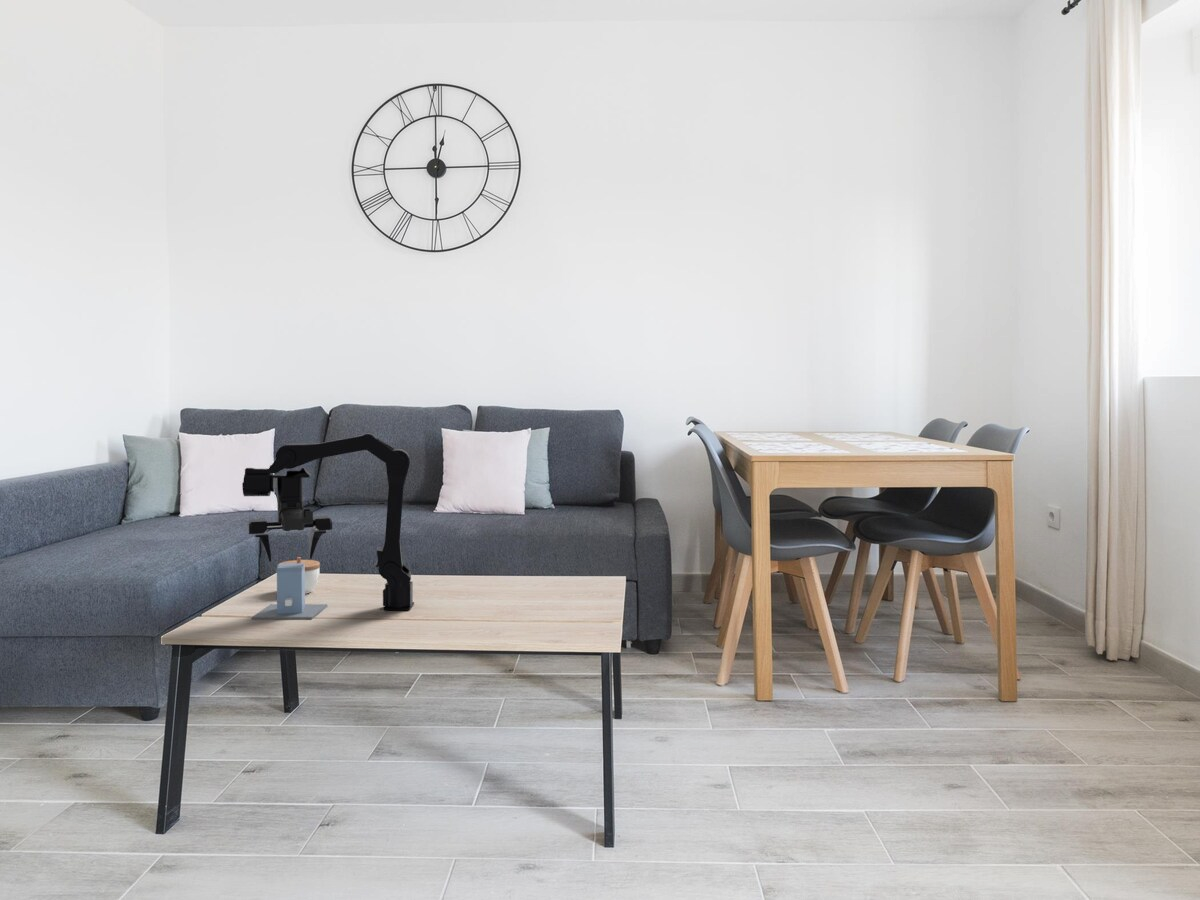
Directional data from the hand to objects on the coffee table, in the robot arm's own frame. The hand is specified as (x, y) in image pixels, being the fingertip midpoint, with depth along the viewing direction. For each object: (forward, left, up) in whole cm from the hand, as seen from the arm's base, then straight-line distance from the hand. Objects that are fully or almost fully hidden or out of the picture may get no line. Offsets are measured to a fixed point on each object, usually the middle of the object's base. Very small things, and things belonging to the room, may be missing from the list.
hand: (290, 560), depth 194 cm
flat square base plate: (0, 0, -13) cm, 13 cm away
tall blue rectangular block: (0, 0, -12) cm, 12 cm away
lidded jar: (+5, -21, -13) cm, 25 cm away
